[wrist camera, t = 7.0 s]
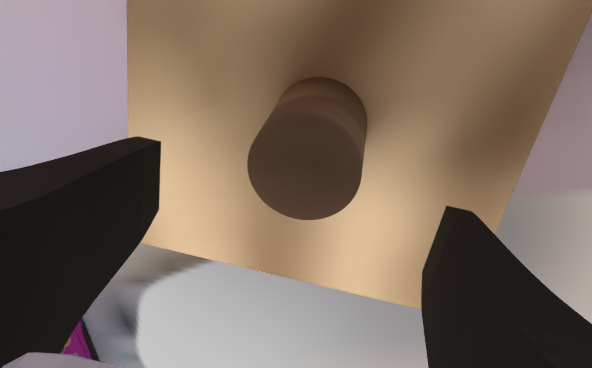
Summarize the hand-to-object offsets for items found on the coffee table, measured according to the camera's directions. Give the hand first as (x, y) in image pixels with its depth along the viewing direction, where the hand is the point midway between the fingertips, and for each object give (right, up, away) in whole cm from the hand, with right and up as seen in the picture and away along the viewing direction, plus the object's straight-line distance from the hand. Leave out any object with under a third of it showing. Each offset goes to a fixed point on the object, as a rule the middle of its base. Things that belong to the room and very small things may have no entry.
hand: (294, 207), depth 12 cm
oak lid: (+1, +3, +4) cm, 5 cm away
